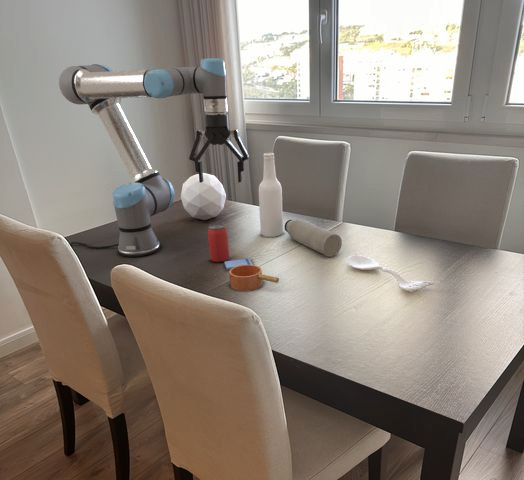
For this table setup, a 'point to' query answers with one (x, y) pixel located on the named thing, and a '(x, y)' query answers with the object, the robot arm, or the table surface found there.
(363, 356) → the table surface
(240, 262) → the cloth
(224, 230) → the beer can
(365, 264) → the spoon
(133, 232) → the robot arm
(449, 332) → the table surface
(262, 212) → the alcohol
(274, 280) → the pan handle
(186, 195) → the geometric orb
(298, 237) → the thermos bottle
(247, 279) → the pan
